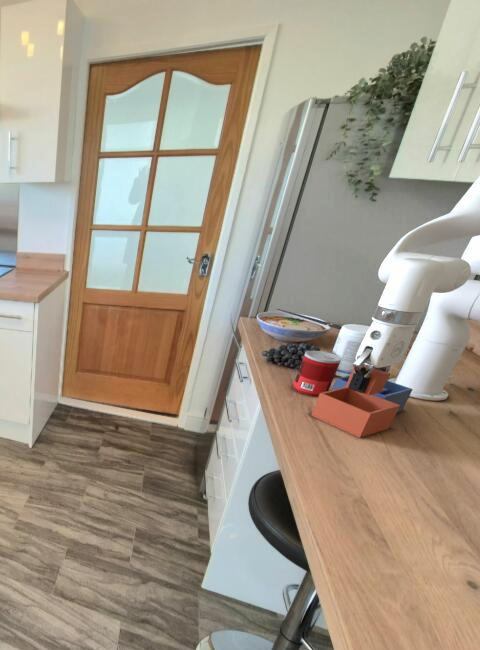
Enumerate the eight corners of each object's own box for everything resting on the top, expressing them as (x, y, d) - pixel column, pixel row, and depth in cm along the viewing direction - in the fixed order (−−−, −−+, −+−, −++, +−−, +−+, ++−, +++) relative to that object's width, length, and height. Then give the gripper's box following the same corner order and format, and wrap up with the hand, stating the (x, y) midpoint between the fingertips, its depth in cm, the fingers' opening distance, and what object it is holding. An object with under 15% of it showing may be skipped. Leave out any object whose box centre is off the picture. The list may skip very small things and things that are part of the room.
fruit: (266, 336, 137) (325, 345, 129) (267, 337, 144) (323, 346, 135) (258, 362, 139) (315, 373, 130) (259, 362, 146) (314, 372, 137)
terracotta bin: (339, 407, 114) (348, 385, 111) (389, 428, 105) (400, 405, 102) (310, 415, 110) (319, 393, 108) (359, 437, 101) (370, 414, 98)
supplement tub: (372, 378, 130) (393, 332, 123) (347, 381, 128) (367, 335, 121) (340, 366, 138) (358, 322, 132) (317, 368, 136) (334, 324, 130)
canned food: (332, 398, 119) (347, 362, 114) (300, 395, 120) (313, 359, 115) (318, 386, 125) (331, 351, 120) (287, 383, 127) (300, 349, 122)
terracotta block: (358, 383, 106) (366, 365, 104) (381, 392, 102) (390, 373, 100) (345, 386, 105) (353, 368, 103) (368, 395, 100) (377, 376, 98)
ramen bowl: (234, 331, 169) (240, 311, 165) (281, 326, 174) (288, 306, 170) (291, 354, 147) (299, 332, 143) (343, 348, 152) (352, 326, 148)
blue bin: (354, 392, 122) (363, 372, 119) (401, 411, 112) (412, 389, 109) (327, 399, 118) (336, 378, 115) (374, 419, 109) (385, 396, 106)
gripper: (392, 325, 90) (358, 401, 97) (440, 316, 95) (403, 389, 103) (353, 315, 96) (323, 387, 104) (399, 307, 101) (367, 377, 109)
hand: (363, 387), depth 103 cm, fingers closed on terracotta block, 5 cm apart
